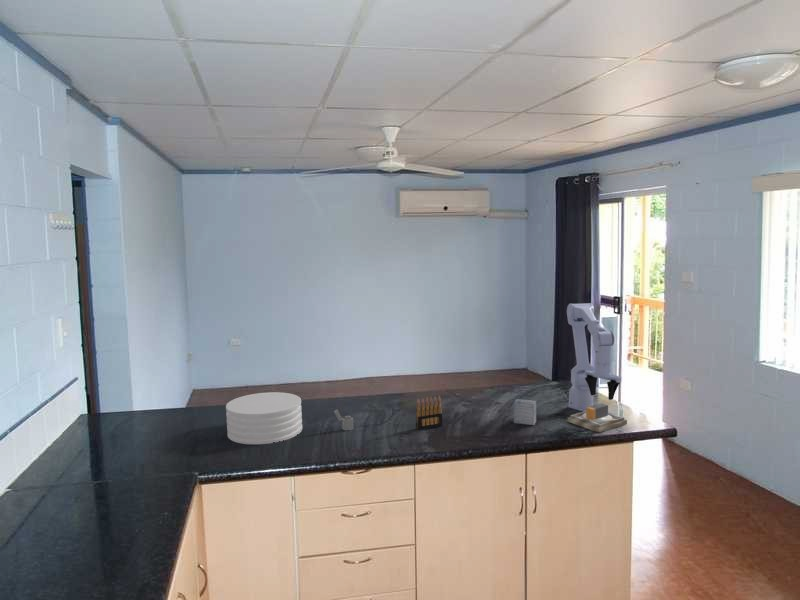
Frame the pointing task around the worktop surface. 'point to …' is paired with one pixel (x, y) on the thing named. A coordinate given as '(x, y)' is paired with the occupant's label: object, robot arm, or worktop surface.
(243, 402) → the plate stack
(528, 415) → the medicine box
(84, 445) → the worktop surface
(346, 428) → the lighter
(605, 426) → the square tray
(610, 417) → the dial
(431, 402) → the ammunition clip
